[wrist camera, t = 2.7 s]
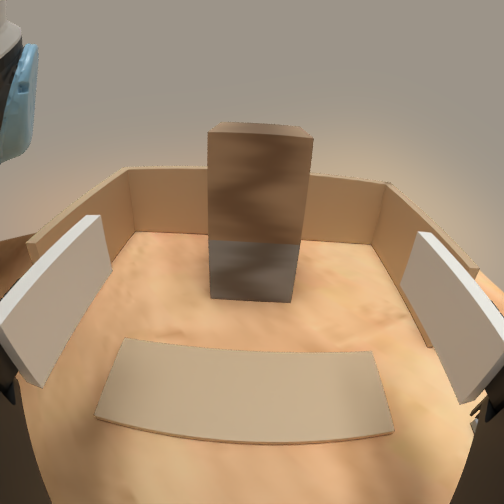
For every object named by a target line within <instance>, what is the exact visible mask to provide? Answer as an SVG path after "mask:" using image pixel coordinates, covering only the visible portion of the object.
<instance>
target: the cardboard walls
mask: <svg viewBox="0 0 504 504" xmlns="http://www.w3.org/2000/svg"><path fill="white" fill-rule="evenodd" d="M86 215H101V219H102V224H103V230H104V235H105V240H106V244H107V249H108V253H109V258H110V262H111V263H112V261H113V260H114V258H115V257H116V256H117V254H118V253H119V252H120V250H121V249H122V248H123V246H124V245H125V244H126V242H127V241H128V240H129V238H130V237H131V236H132V234H133V233H134V232H135V231H149V232H171V233H193V234H208V182H207V166H146V167H145V166H143V167H123V168H121V169H120V170H118V171H117V172H115V173H114V174H113V175H111V176H109V177H108V178H107V179H105V180H104V181H102V182H101V183H99V184H98V185H96V186H95V187H94V188H92V189H91V190H90V191H88V192H87V193H85V194H84V195H83V196H81V197H80V198H79V199H77V200H76V201H75V202H73V203H72V204H71V205H70V206H68V207H67V208H66V209H65V210H63V211H62V212H61V213H60V214H58V215H57V216H56V217H55V218H53V219H52V220H51V221H50V222H49V223H47V224H46V225H45V226H44V227H43V228H42V229H40V230H39V231H38V232H37V233H36V234H35V235H33V236H32V237H31V238H30V239H29V240H28V241H27V242H26V246H27V249H28V252H29V255H30V258H31V261H32V264H33V265H34V264H35V263H36V262H37V261H38V260H39V259H40V258H41V257H42V256H43V255H44V254H45V253H46V252H47V251H48V250H49V249H50V248H51V247H52V246H53V245H54V244H55V243H56V242H57V241H58V240H59V239H60V238H61V237H62V236H63V235H64V234H66V233H67V232H68V231H69V230H70V229H71V228H72V227H73V226H74V225H75V224H77V223H78V222H79V221H80V220H81V219H82V218H83V217H85V216H86ZM417 231H420V232H429V233H432V234H433V235H434V236H435V237H436V238H437V239H438V240H439V241H440V242H441V243H442V244H443V245H444V247H445V248H446V249H447V250H448V251H449V252H450V253H451V254H452V255H453V256H454V257H455V258H456V260H457V261H458V262H459V263H460V264H461V265H462V266H463V268H464V269H465V270H466V271H467V272H468V273H469V274H470V276H471V277H472V278H473V279H474V280H475V278H476V276H477V274H478V271H479V269H480V268H479V267H478V266H477V265H476V264H475V263H474V261H473V260H472V259H471V258H470V257H469V256H468V255H467V254H466V253H465V252H464V251H463V250H462V248H461V247H460V246H458V244H457V243H456V242H455V241H454V240H453V239H452V238H451V237H450V236H449V235H448V234H447V233H446V232H445V231H444V230H443V229H442V228H441V227H440V226H439V225H437V223H436V222H434V221H433V220H432V219H431V218H430V217H429V216H428V215H427V214H426V213H425V212H424V211H423V210H422V209H420V208H419V207H418V206H417V205H416V204H415V203H414V202H412V201H411V200H410V199H409V198H408V197H407V196H405V195H404V194H403V193H402V192H401V191H399V189H397V188H396V187H395V186H394V185H393V184H391V183H388V182H383V181H376V180H369V179H362V178H355V177H346V176H338V175H330V174H321V173H311V172H310V176H309V184H308V192H307V199H306V207H305V214H304V221H303V228H302V235H301V240H315V241H330V242H345V243H359V244H371V245H372V246H373V248H374V249H375V251H376V253H377V254H378V256H379V258H380V259H381V261H382V263H383V264H384V266H385V268H386V269H387V271H388V273H389V275H390V276H391V278H392V280H393V282H394V283H395V285H396V287H397V289H398V291H399V292H400V294H401V296H402V298H403V300H404V302H405V303H406V305H407V307H408V309H409V311H410V313H411V315H412V317H413V319H414V321H415V323H416V325H417V327H418V329H419V331H420V333H421V335H422V337H423V339H424V341H425V343H426V345H427V347H428V348H429V347H433V345H432V343H431V341H430V339H429V337H428V335H427V333H426V331H425V329H424V327H423V325H422V324H421V322H420V320H419V318H418V316H417V314H416V313H415V311H414V309H413V307H412V305H411V304H410V302H409V300H408V298H407V297H406V295H405V293H404V291H403V290H402V288H401V286H400V282H401V280H402V277H403V274H404V271H405V269H406V266H407V263H408V260H409V257H410V254H411V251H412V248H413V244H414V241H415V238H416V235H417ZM94 416H95V417H96V418H97V419H100V420H104V421H107V422H111V423H114V424H118V425H122V426H126V427H130V428H134V429H139V430H143V431H148V432H153V433H158V434H164V435H169V436H175V437H182V438H189V439H196V440H205V441H214V442H225V443H240V444H272V445H280V444H312V443H326V442H337V441H347V440H355V439H362V438H369V437H376V436H382V435H387V434H392V433H393V432H394V431H395V429H394V425H393V422H392V418H391V414H390V410H389V407H388V403H387V399H386V396H385V392H384V389H383V385H382V382H381V379H380V375H379V372H378V369H377V366H376V362H375V359H374V356H373V353H372V351H361V352H328V353H293V352H260V351H241V350H226V349H213V348H202V347H192V346H182V345H174V344H166V343H158V342H151V341H144V340H137V339H131V338H124V340H123V342H122V345H121V347H120V349H119V352H118V354H117V357H116V359H115V361H114V364H113V366H112V369H111V371H110V374H109V376H108V379H107V381H106V384H105V386H104V389H103V391H102V394H101V397H100V399H99V402H98V405H97V407H96V410H95V413H94Z"/></svg>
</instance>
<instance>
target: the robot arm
mask: <svg viewBox="0 0 504 504" xmlns="http://www.w3.org/2000/svg"><path fill="white" fill-rule="evenodd" d="M37 70H38V46H37V45H35V44H32V45H31V44H26V45H25V46H24V47H23V45H22V32H21V28H20V27H19V26H17V25H15V24H13V23H11V22H9V21H8V20H7V19H6V0H0V164H1V163H3V162H5V161H7V160H10V159H12V158H15V157H17V156H20V155H21V154H23V153H24V152H25V150H27V148H28V147H29V145H30V142H31V139H32V132H33V123H34V110H35V97H36V96H35V95H36V83H37ZM112 271H113V270H112V266H111V262H110V258H109V253H108V249H107V244H106V240H105V235H104V230H103V224H102V219H101V215H86V216H85V217H83V218H82V219H81V220H80V221H79V222H78V223H77V224H75V225H74V226H73V227H72V228H71V229H70V230H69V231H68V232H67V233H66V234H64V235H63V236H62V237H61V238H60V239H59V240H58V241H57V242H56V243H55V244H54V245H53V246H52V247H51V248H50V249H49V250H48V251H47V252H46V253H45V254H44V255H43V256H42V257H41V258H40V259H39V260H38V261H37V262H36V263H35V264H34V265H33V266H32V267H31V268H30V269H29V270H28V271H27V272H26V273H25V274H24V275H23V276H22V277H21V278H20V279H18V280H17V281H16V282H15V284H14V285H13V286H12V287H11V288H10V291H7V293H6V294H5V295H4V298H1V300H0V504H52V503H51V500H50V498H49V495H48V493H47V490H46V488H45V485H44V482H43V480H42V477H41V474H40V471H39V468H38V465H37V462H36V459H35V455H34V452H33V448H32V445H31V441H30V437H29V433H28V429H27V424H26V420H25V415H24V410H23V405H22V399H21V393H20V386H19V383H18V380H17V379H16V377H15V376H16V374H17V372H18V371H19V372H20V374H21V375H22V376H23V378H24V379H25V380H26V382H28V383H30V384H33V385H35V386H38V387H40V388H43V387H44V385H45V383H46V381H47V379H48V377H49V375H50V373H51V371H52V369H53V367H54V365H55V364H56V362H57V360H58V358H59V356H60V354H61V353H62V351H63V349H64V347H65V346H66V344H67V342H68V340H69V339H70V337H71V335H72V333H73V332H74V330H75V328H76V327H77V325H78V323H79V322H80V320H81V319H82V317H83V315H84V314H85V312H86V310H87V309H88V307H89V306H90V304H91V303H92V301H93V300H94V298H95V296H96V295H97V293H98V292H99V290H100V289H101V287H102V286H103V284H104V283H105V281H106V280H107V278H108V277H109V275H110V274H111V273H112ZM400 286H401V288H402V290H403V291H404V293H405V295H406V297H407V298H408V300H409V302H410V304H411V305H412V307H413V309H414V311H415V313H416V314H417V316H418V318H419V320H420V322H421V324H422V325H423V327H424V329H425V331H426V333H427V335H428V337H429V339H430V341H431V343H432V345H433V347H434V349H435V351H436V353H437V355H438V357H439V359H440V361H441V363H442V366H443V368H444V370H445V372H446V374H447V377H448V379H449V381H450V383H451V386H452V388H453V390H454V393H455V395H456V397H457V400H458V402H459V405H461V404H464V403H467V402H471V401H474V400H475V399H476V398H477V397H478V396H479V395H480V394H481V393H482V392H483V390H484V389H485V390H486V393H487V396H486V397H485V398H484V399H483V400H482V401H481V402H480V403H479V404H478V405H477V406H476V407H475V408H474V409H473V410H472V412H471V414H470V416H473V415H474V414H475V413H476V412H477V411H478V410H480V413H479V414H478V415H477V416H476V417H475V418H477V419H478V423H477V427H476V431H475V434H474V438H473V441H472V445H471V448H470V452H469V455H468V458H467V461H466V464H465V467H464V469H463V472H462V475H461V478H460V480H459V483H458V485H457V488H456V490H455V493H454V495H453V497H452V500H451V502H450V504H504V317H503V315H502V314H501V313H500V312H499V310H498V308H497V307H496V306H495V304H494V303H493V302H492V301H491V300H490V299H489V298H488V297H487V295H486V294H485V293H484V292H483V290H482V289H481V288H480V287H479V285H478V284H477V283H476V282H475V280H474V279H473V278H472V277H471V276H470V274H469V273H468V272H467V271H466V270H465V269H464V268H463V266H462V265H461V264H460V263H459V262H458V261H457V260H456V258H455V257H454V256H453V255H452V254H451V253H450V252H449V251H448V250H447V249H446V248H445V247H444V245H443V244H442V243H441V242H440V241H439V240H438V239H437V238H436V237H435V236H434V235H433V234H432V233H429V232H420V231H417V235H416V238H415V241H414V244H413V248H412V251H411V254H410V257H409V260H408V263H407V266H406V269H405V271H404V274H403V277H402V280H401V282H400Z"/></svg>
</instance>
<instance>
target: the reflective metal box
mask: <svg viewBox="0 0 504 504" xmlns="http://www.w3.org/2000/svg"><path fill="white" fill-rule="evenodd" d="M313 140H314V139H313V137H312V136H310V135H309V134H308V133H307V132H306V131H304V130H303V129H302V128H301V127H298V126H287V125H275V124H259V123H239V122H221V123H219V124H218V125H217V126H215V127H214V128H212V129H211V130H210V131H209V132H208V158H207V161H208V163H207V182H208V243H209V272H210V295H211V298H212V299H227V300H243V301H261V302H283V303H291V298H292V292H293V286H294V280H295V274H296V268H297V261H298V255H299V249H300V242H301V235H302V228H303V221H304V214H305V207H306V199H307V192H308V184H309V176H310V167H311V159H312V149H313Z"/></svg>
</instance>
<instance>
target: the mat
mask: <svg viewBox="0 0 504 504" xmlns="http://www.w3.org/2000/svg"><path fill="white" fill-rule="evenodd" d="M477 423H478V419H475V420H474V421H473V422H471V426H472V428H473V431H474V434H475V431H476V427H477Z"/></svg>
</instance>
